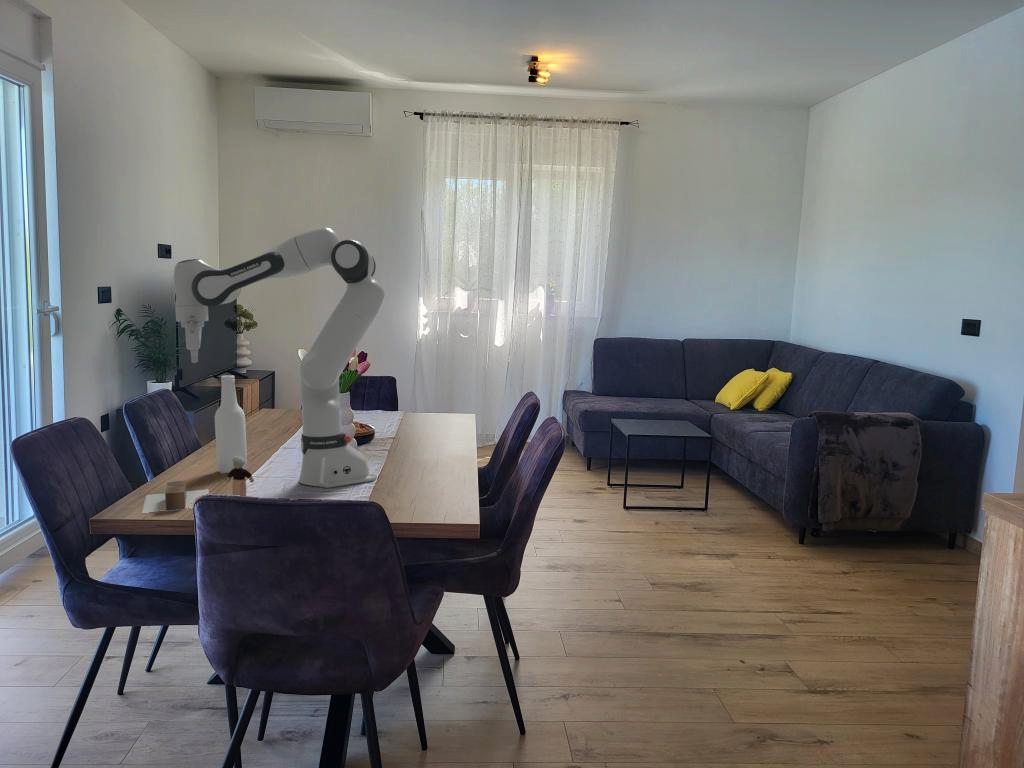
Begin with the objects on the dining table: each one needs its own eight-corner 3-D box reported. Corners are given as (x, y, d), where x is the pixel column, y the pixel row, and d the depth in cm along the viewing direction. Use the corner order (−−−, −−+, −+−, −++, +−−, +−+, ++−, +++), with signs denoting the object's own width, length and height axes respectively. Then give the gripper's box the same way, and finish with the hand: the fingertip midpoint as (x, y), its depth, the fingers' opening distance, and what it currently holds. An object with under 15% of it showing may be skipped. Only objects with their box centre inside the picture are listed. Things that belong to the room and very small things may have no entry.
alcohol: (216, 475, 235) (210, 378, 231) (219, 468, 244) (213, 374, 239) (246, 473, 238) (241, 377, 233) (248, 466, 246) (243, 373, 242)
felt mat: (208, 490, 219) (208, 489, 219) (208, 508, 202) (208, 506, 202) (146, 496, 213) (146, 495, 213) (141, 515, 196) (141, 513, 196)
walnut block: (185, 480, 211) (184, 491, 200) (186, 496, 212) (185, 508, 201) (167, 481, 209) (165, 493, 198) (168, 498, 210) (166, 510, 199)
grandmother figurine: (224, 503, 206) (221, 457, 205) (228, 499, 210) (225, 454, 208) (253, 503, 207) (251, 457, 205) (256, 499, 211) (254, 453, 209)
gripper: (203, 316, 217) (206, 365, 219) (203, 313, 236) (206, 358, 238) (179, 317, 215) (182, 366, 217) (181, 313, 234) (184, 359, 236)
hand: (194, 362), depth 228 cm, fingers closed
